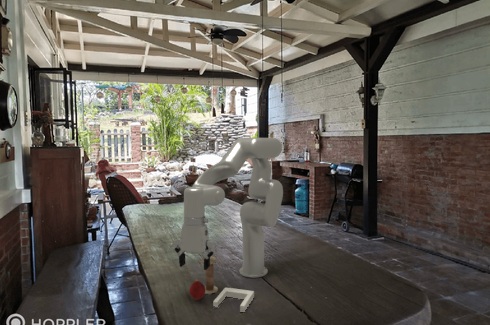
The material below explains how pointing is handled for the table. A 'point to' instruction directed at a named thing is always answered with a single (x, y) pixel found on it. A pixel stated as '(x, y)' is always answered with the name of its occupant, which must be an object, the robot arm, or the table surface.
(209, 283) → the spool
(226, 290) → the notched board
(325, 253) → the table surface
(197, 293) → the pomegranate
